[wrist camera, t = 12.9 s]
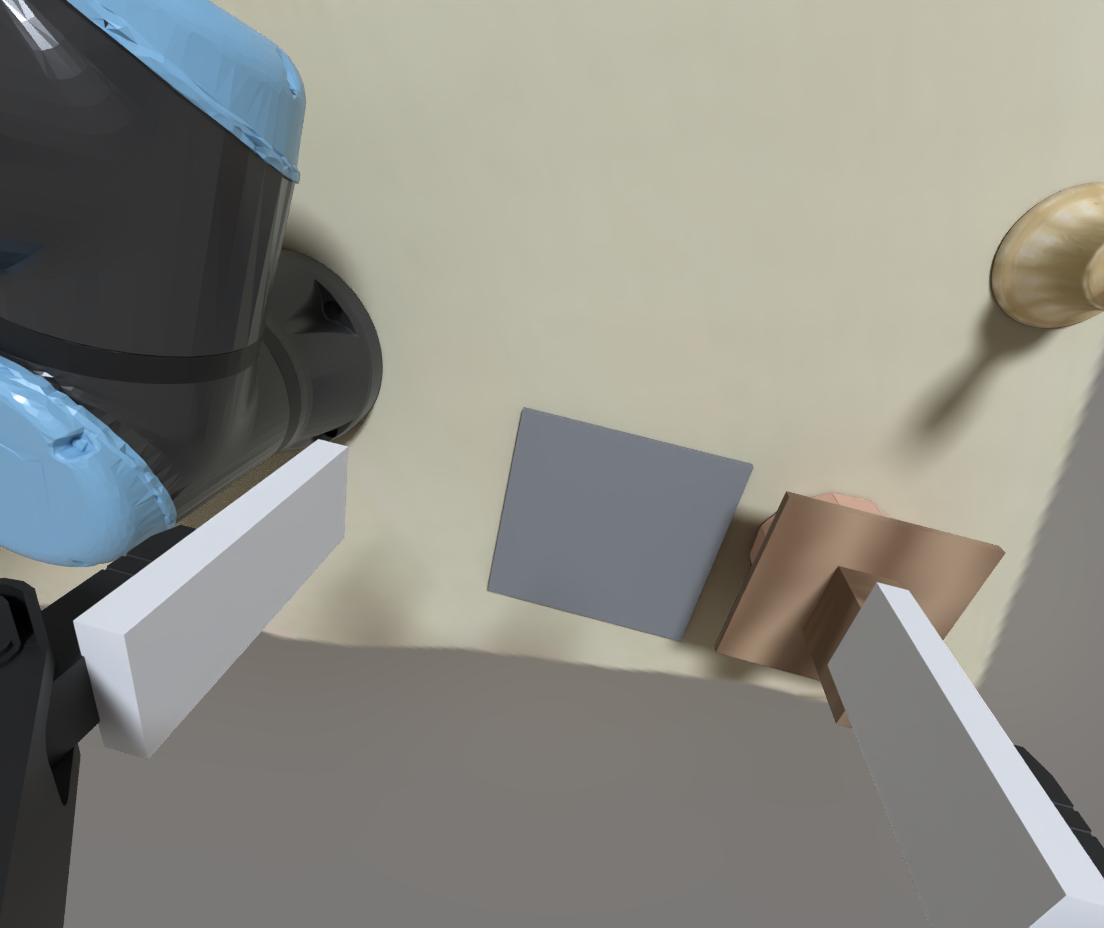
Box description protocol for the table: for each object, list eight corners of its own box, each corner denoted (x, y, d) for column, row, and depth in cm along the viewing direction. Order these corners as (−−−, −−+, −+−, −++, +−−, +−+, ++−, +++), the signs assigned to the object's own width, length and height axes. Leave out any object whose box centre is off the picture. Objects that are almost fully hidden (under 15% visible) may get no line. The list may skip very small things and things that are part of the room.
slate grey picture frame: (489, 586, 51) (487, 590, 51) (524, 407, 43) (522, 409, 43) (680, 636, 51) (680, 641, 50) (752, 464, 43) (753, 467, 42)
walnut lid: (714, 644, 43) (730, 744, 35) (786, 491, 37) (824, 570, 29) (894, 693, 42) (951, 805, 35) (998, 545, 36) (1096, 641, 28)
